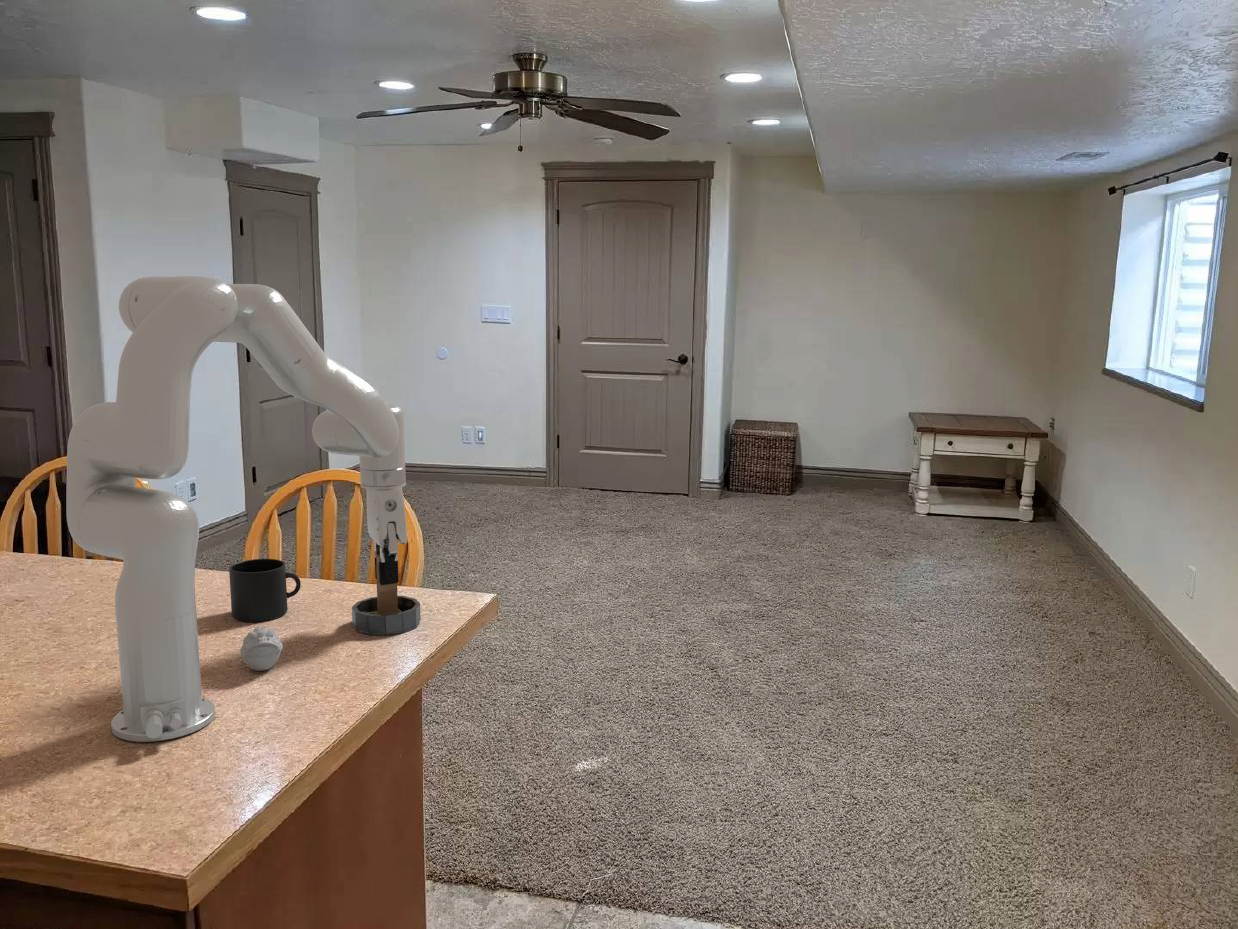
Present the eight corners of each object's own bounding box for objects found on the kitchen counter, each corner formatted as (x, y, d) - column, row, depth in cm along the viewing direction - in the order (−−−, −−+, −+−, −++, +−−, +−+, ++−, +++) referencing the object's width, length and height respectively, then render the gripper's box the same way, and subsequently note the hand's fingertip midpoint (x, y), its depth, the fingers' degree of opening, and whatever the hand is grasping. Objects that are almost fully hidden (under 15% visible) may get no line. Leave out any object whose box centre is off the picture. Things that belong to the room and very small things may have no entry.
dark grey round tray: (426, 630, 167) (426, 610, 167) (361, 639, 162) (360, 619, 162) (410, 611, 177) (410, 592, 177) (347, 619, 172) (347, 600, 172)
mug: (307, 616, 174) (304, 567, 172) (235, 626, 168) (232, 575, 167) (296, 601, 182) (294, 554, 181) (228, 610, 176) (225, 562, 175)
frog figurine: (243, 681, 144) (240, 636, 143) (239, 665, 151) (237, 622, 149) (286, 675, 147) (284, 631, 146) (280, 659, 153) (278, 617, 152)
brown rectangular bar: (398, 622, 170) (396, 555, 168) (380, 624, 168) (379, 557, 166) (394, 618, 172) (393, 552, 170) (377, 620, 170) (376, 554, 168)
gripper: (417, 484, 160) (420, 591, 163) (393, 467, 174) (397, 566, 178) (371, 488, 157) (375, 597, 160) (351, 470, 171) (355, 571, 174)
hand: (386, 580), depth 169 cm, fingers closed on brown rectangular bar, 2 cm apart
